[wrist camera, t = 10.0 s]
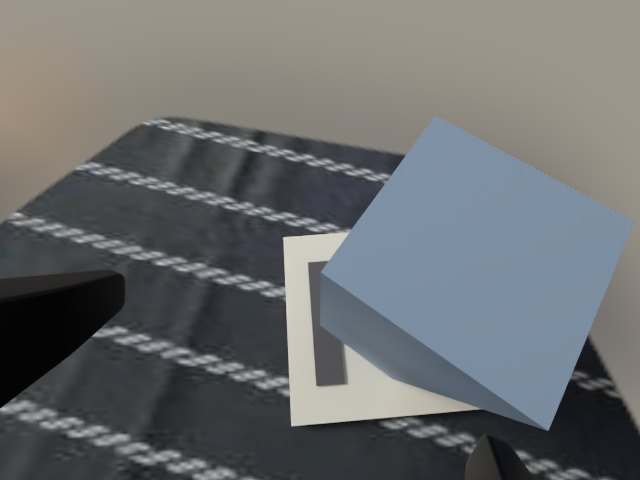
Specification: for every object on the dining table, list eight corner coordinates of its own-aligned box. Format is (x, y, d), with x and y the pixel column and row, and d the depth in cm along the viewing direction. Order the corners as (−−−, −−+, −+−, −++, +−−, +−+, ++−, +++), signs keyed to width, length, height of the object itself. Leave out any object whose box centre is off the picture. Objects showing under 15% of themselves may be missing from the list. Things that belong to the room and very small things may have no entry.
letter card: (481, 405, 19) (491, 409, 17) (292, 422, 18) (291, 427, 17) (442, 230, 22) (448, 224, 21) (284, 242, 22) (283, 236, 21)
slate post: (392, 378, 18) (548, 430, 6) (320, 325, 19) (320, 271, 7) (434, 306, 19) (634, 221, 7) (365, 259, 20) (435, 115, 8)
